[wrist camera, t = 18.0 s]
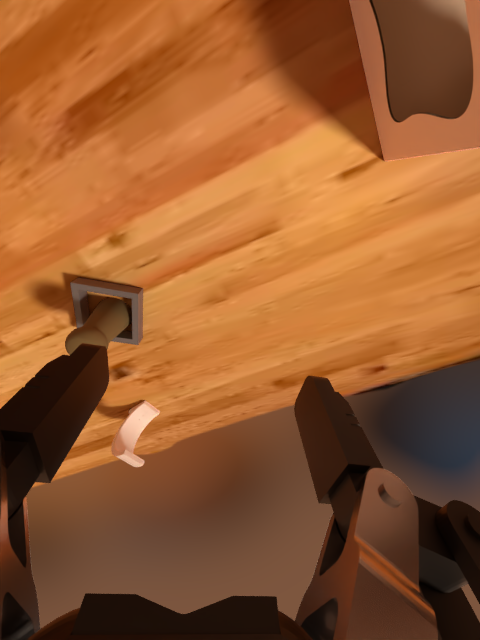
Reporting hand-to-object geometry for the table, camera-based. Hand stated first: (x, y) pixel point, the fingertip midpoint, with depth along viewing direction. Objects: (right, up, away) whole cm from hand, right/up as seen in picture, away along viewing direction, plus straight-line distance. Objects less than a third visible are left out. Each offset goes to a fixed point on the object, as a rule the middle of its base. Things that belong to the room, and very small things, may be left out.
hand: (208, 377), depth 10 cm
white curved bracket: (-21, -18, +45) cm, 53 cm away
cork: (-21, +4, +32) cm, 38 cm away
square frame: (-21, +4, +32) cm, 38 cm away
